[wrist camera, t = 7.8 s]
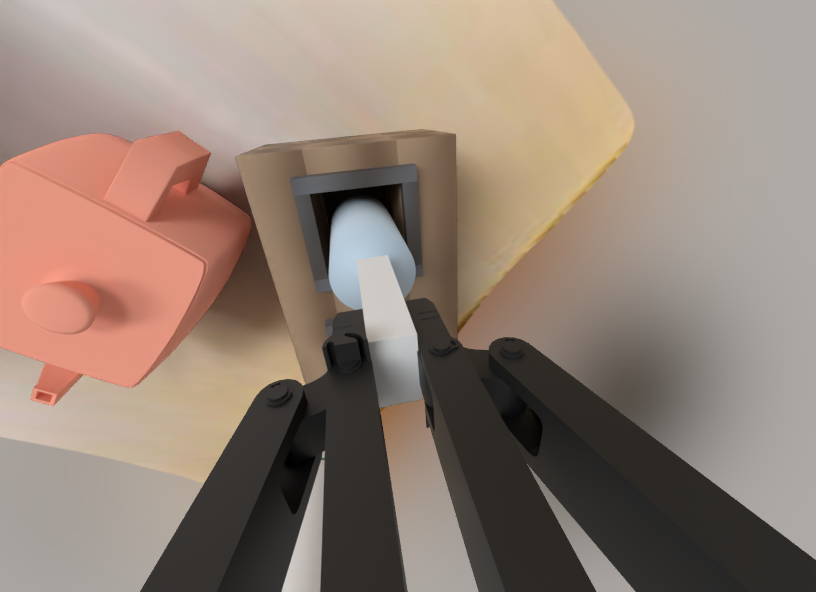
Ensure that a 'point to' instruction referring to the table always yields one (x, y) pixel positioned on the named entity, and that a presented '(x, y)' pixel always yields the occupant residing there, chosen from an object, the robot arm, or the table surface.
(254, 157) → the wooden peg block
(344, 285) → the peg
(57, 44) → the table surface
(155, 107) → the table surface
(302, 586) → the cylindrical container
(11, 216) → the teapot
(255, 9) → the table surface
